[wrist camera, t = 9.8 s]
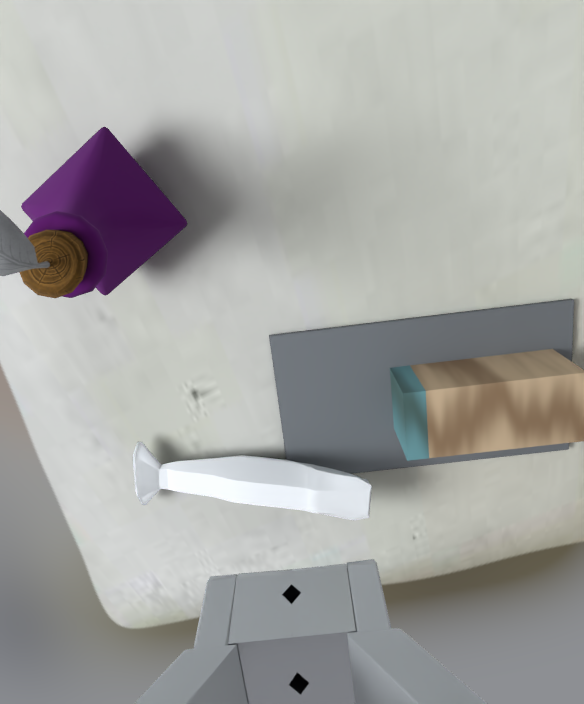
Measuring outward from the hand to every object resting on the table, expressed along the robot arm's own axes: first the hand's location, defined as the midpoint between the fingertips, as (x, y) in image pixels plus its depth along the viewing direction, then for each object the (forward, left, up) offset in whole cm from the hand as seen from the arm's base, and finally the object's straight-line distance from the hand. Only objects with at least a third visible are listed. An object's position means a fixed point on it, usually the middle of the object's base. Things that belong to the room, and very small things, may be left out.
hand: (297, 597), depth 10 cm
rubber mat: (+10, +9, -31) cm, 34 cm away
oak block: (+10, +6, -28) cm, 31 cm away
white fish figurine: (+15, -5, -31) cm, 35 cm away
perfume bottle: (-6, -11, -31) cm, 34 cm away
